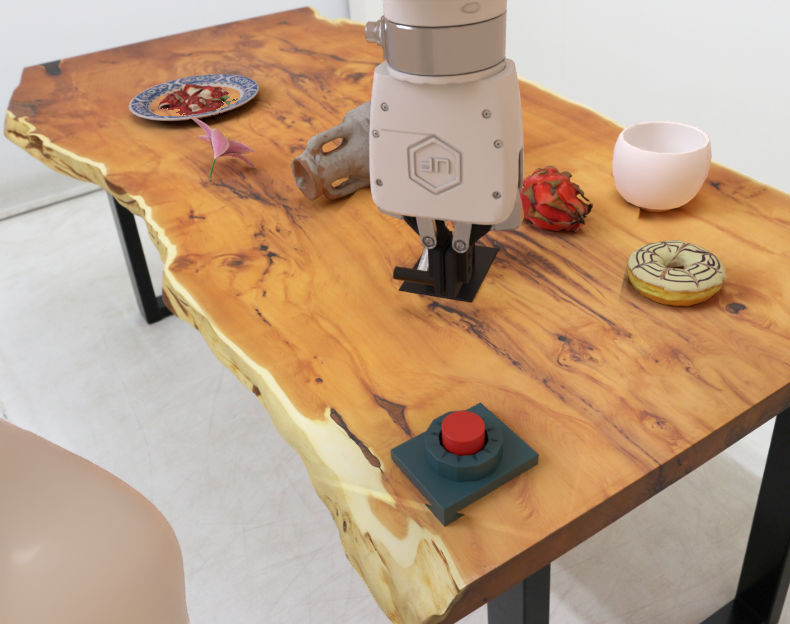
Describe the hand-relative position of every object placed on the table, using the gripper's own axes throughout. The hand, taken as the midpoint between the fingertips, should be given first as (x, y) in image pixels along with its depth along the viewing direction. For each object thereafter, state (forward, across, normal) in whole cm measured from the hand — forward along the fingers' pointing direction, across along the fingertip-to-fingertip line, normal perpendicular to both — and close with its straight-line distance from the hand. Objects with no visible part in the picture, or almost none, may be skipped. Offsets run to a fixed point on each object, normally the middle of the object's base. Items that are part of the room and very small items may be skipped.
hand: (450, 286), depth 55 cm
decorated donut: (+17, +17, +31) cm, 39 cm away
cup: (+17, +13, +51) cm, 55 cm away
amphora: (+17, -26, +51) cm, 59 cm away
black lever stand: (+17, -8, +26) cm, 33 cm away
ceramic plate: (+17, -76, +73) cm, 107 cm away
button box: (+17, +2, -3) cm, 18 cm away
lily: (+17, -53, +47) cm, 73 cm away
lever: (+9, -9, +22) cm, 26 cm away
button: (+14, +2, -3) cm, 14 cm away
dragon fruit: (+17, +1, +41) cm, 45 cm away
